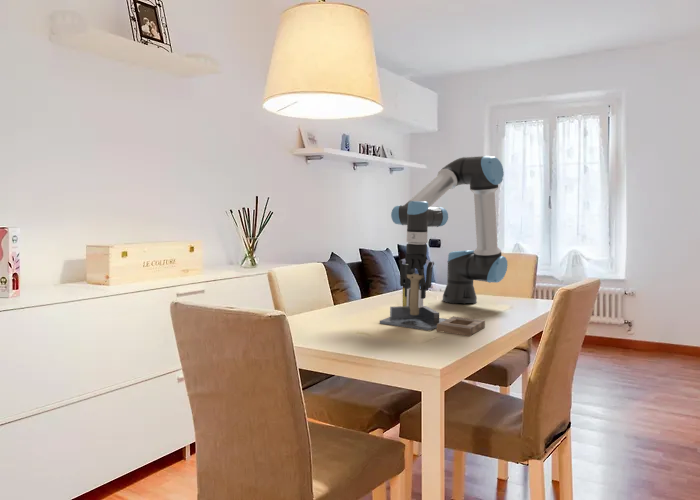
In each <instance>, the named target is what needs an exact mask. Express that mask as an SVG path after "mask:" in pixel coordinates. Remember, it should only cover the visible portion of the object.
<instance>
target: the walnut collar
mask: <svg viewBox="0 0 700 500" xmlns="http://www.w3.org/2000/svg"><path fill="white" fill-rule="evenodd" d="M446 319H447V320H445V321H443V322H440V323H438V324H437V328H436V331H437V332H440V331H444V332H443V333H447V332H448V333H447V334H454V335H462V336H469V337H470V336H472V335H474V334H476V333H477V332H479V331H481V330H482V329H485V327H486V320H484V319H477V318H476V319H475V318H468V317H462V316H461V317H460V316H452V317H449V318H446Z"/></svg>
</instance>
